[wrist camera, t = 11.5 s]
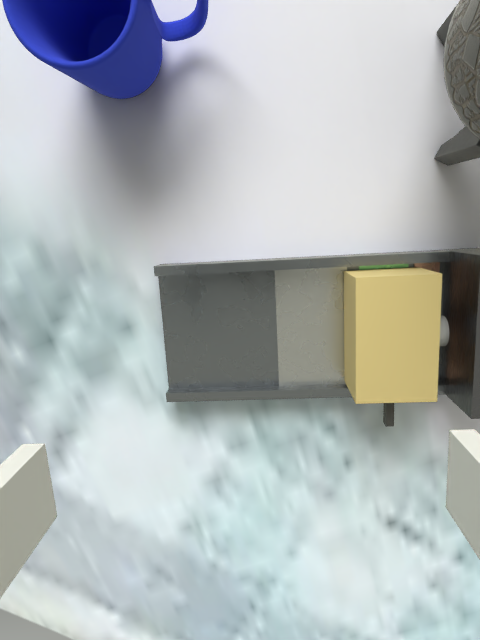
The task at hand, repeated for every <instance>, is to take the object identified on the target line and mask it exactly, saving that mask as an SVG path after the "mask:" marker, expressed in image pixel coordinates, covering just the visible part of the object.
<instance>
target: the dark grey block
mask: <svg viewBox="0 0 480 640" xmlns="http://www.w3.org/2000/svg"><path fill="white" fill-rule="evenodd" d="M468 250H470V249H468ZM448 251H452V250H448ZM443 316H445V317H446V319H447V321H448V325H449V341H448V343H447V345H446V346H442V350H441V374H440V381H441V382H443V383H444V384H445V385H446V390H445V394H446V395H447V396H448V397H449V398H450V399H451V400H452V401H453V402H454V403H455V404H456V405H457V406H458V407H459V408H460V409H461V410H463V411H464V412H465V413H466V414H467V415H468V416H469V417H470V418H471V419H478V418H480V250H470V251H452V256H451V262H445V278H444V302H443Z"/></svg>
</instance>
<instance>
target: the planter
mask: <svg viewBox="0 0 480 640" xmlns="http://www.w3.org/2000/svg"><path fill="white" fill-rule="evenodd" d="M437 34H438V36H439V38H440V40H441V41H442V43H443V45H445V50H444V78H445V82H446V87H447V92H448V95H449V98H450V100H451V103H452V105H453V108H454V110H455V111H456V113H457V115H458V116H459V118H460V120H461V121H462V123H463V124H464V125H465V127H464V128H463V129H462V130H461V131H460V132H459V133H458V134H457V135H455V136H454V137H453V138H452V139H450V140H449V141H447V142H446V143H444V144H443V145H441V147H440V149H439V151H438V153H437V154H436V156H435V159H436V160H438V161H440V162H442V163H444V164H446V165H452V164H456V163H460V162H464V161H468V160H472V159H476V158H479V157H480V0H460V1H459V3H458V4H457V6H456V7H455V8H454V10H453V11H452V12H451V14H450V15H449V16H448V18H447V19H446V20H445V22H444V23H443V24H442V26H441V27H440V28H439V30H438V31H437Z"/></svg>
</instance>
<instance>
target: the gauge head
mask: <svg viewBox="0 0 480 640" xmlns="http://www.w3.org/2000/svg"><path fill="white" fill-rule="evenodd" d="M441 295H442V273H438V272H434V271H430V270H427V269H423V268H419V267H414V268H393V269H372V270H352V271H344V381H345V383H346V385H347V387H348V389H349V391H350V393H351V395H352V397H353V399H354V401H355V403H356V404H366V403H384V417H383V422H384V424H385V426H394V403H404V402H437V393H438V368H439V347H440V346H446V345H447V343H448V341H449V325H448V321H447V319H446V317H445V316H441Z"/></svg>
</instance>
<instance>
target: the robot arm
mask: <svg viewBox="0 0 480 640" xmlns="http://www.w3.org/2000/svg"><path fill="white" fill-rule="evenodd" d="M446 509H447V510H448V512H449V513H450V515H451V516H452V518H453V519H454V521H455V522H456V524H457V525H458V527H459V528H460V530H461V532H462V533H463V535H464V536H465V538H466V539H467V541H468V542H469V544H470V545H471V547H472V548H473V550H474V552H475V553H476V555H477V556H478V558H479V559H480V434H479V433H478V432H477V431H476V430H475V429H467V430H449V448H448V469H447V491H446ZM56 517H57V511H56V506H55V500H54V494H53V488H52V482H51V477H50V471H49V465H48V459H47V453H46V448H45V444H22V445H21V446H20V447H19V448H18V449H17V450H16V451H15V452H14V453H13V454H11V455H10V456H9V457H8V458H7V459H6V460H5V461H4V462H3V463H2V464H1V465H0V598H1V597H2V595H3V594H4V592H5V591H6V589H7V588H8V587H9V585H10V584H11V582H12V581H13V579H14V578H15V577H16V575H17V574H18V572H19V571H20V569H21V568H22V566H23V565H24V564H25V562H26V561H27V559H28V558H29V556H30V555H31V553H32V552H33V551H34V549H35V548H36V546H37V545H38V543H39V542H40V540H41V539H42V538H43V536H44V535H45V533H46V532H47V530H48V529H49V527H50V526H51V525H52V523H53V522H54V520H55V519H56Z"/></svg>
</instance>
